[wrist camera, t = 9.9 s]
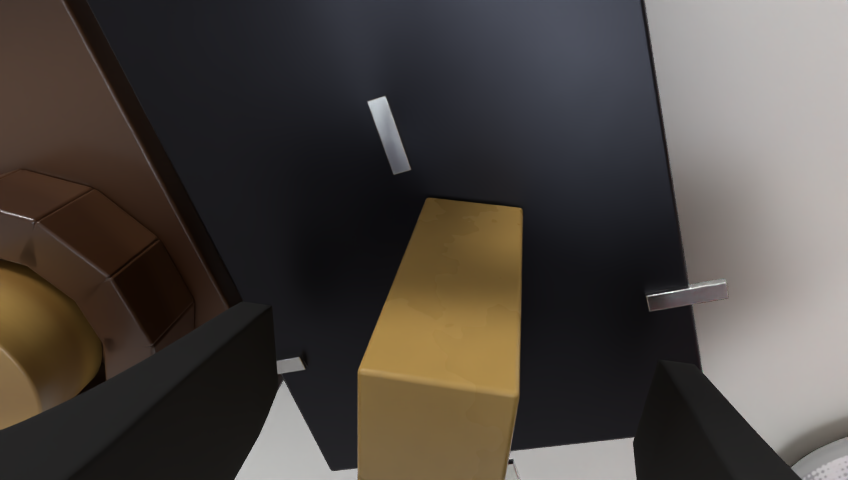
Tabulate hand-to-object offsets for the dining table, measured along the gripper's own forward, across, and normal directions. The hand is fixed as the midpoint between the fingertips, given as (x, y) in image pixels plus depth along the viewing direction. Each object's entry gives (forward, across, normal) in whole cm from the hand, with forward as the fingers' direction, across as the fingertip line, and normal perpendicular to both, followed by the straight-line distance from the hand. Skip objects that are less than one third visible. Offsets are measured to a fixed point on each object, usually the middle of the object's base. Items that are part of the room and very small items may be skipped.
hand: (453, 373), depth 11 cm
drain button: (+1, +10, +1) cm, 10 cm away
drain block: (+4, +10, 0) cm, 11 cm away
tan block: (+1, 0, 0) cm, 1 cm away
